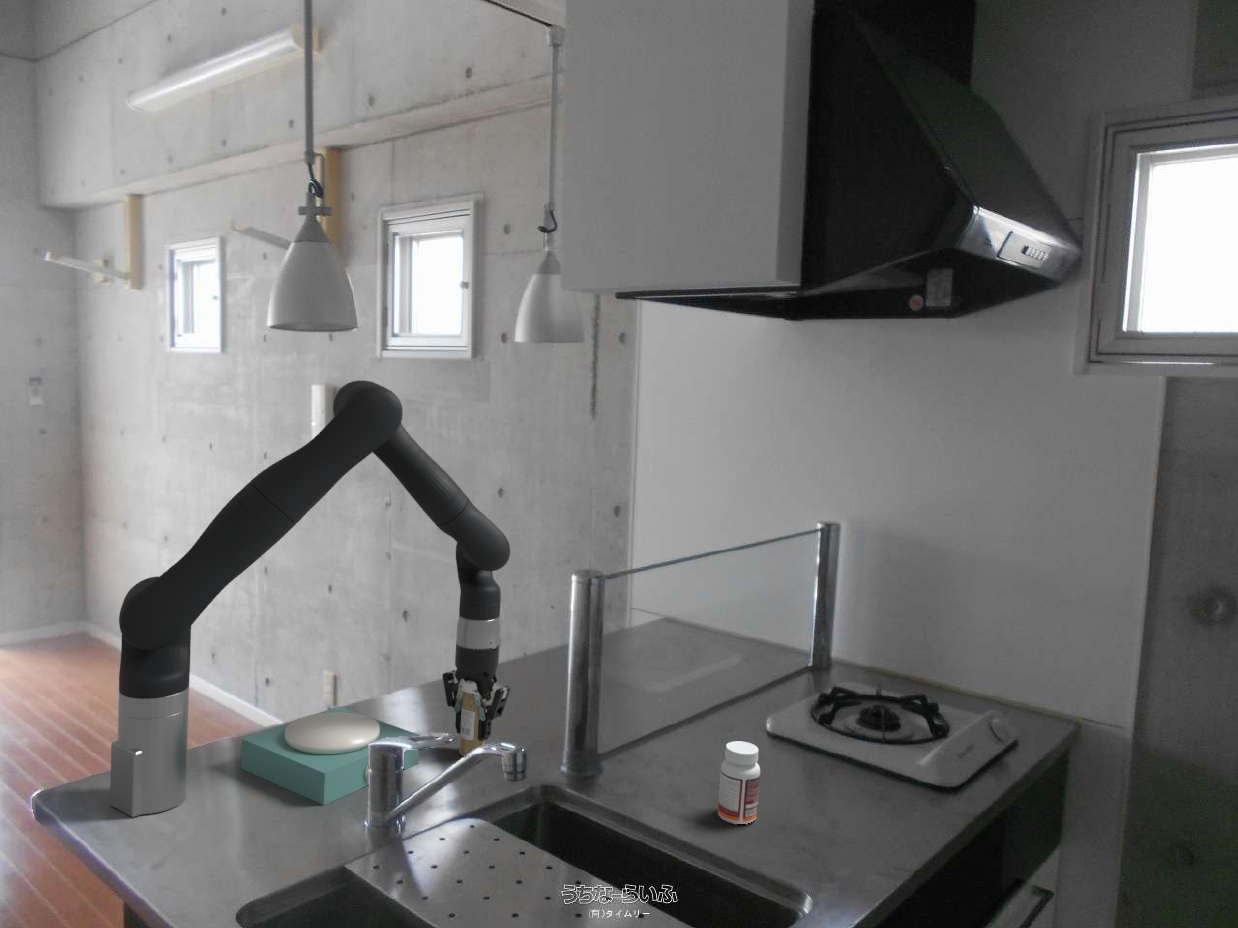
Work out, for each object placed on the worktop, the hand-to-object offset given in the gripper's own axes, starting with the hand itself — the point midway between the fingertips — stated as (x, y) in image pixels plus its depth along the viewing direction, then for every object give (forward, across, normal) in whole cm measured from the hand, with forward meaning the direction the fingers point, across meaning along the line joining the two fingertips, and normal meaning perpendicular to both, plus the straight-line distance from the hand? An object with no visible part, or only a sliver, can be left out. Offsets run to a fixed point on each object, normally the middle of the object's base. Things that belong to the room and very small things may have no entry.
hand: (472, 735), depth 159 cm
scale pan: (-2, -14, -19) cm, 24 cm away
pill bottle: (+4, +47, +9) cm, 48 cm away
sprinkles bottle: (+3, 0, 0) cm, 3 cm away
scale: (+3, -14, -19) cm, 24 cm away
